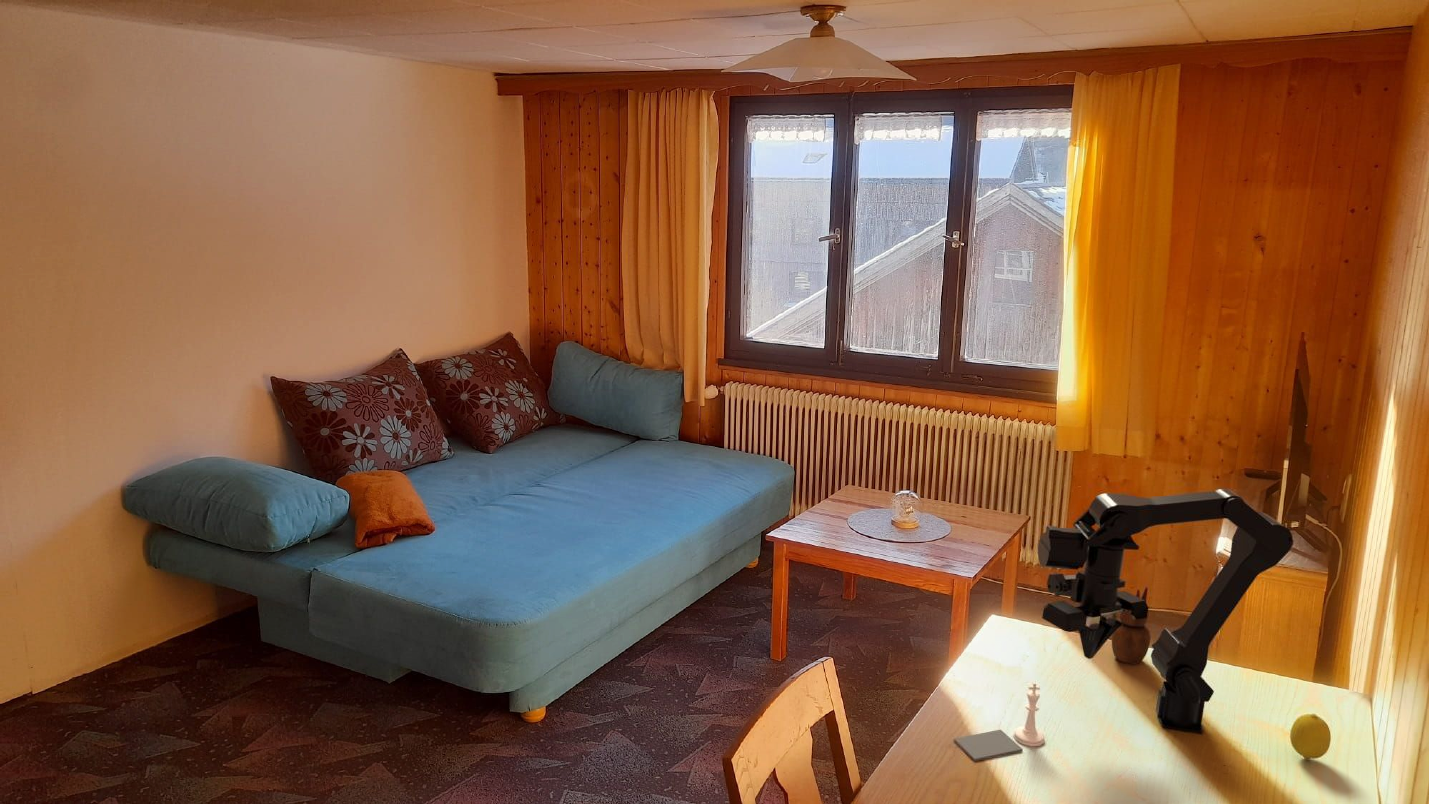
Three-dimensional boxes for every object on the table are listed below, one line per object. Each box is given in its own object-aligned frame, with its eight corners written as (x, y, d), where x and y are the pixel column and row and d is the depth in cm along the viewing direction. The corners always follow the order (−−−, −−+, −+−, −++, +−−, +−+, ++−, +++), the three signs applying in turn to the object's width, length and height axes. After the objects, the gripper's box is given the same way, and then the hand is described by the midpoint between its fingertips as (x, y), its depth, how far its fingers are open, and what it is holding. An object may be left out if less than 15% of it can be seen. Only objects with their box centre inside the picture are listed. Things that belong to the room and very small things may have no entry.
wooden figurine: (1145, 656, 195) (1155, 584, 192) (1147, 669, 190) (1157, 596, 186) (1108, 650, 197) (1117, 578, 194) (1109, 663, 192) (1118, 590, 189)
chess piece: (1048, 746, 164) (1054, 691, 162) (1018, 745, 164) (1023, 690, 162) (1039, 730, 169) (1045, 676, 167) (1010, 729, 169) (1015, 675, 167)
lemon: (1325, 773, 158) (1334, 727, 157) (1285, 761, 161) (1293, 717, 159) (1326, 756, 163) (1334, 712, 161) (1287, 745, 166) (1295, 701, 164)
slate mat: (1000, 731, 168) (1000, 729, 168) (1022, 751, 163) (1022, 749, 163) (953, 740, 165) (953, 738, 165) (974, 761, 160) (974, 758, 160)
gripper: (1105, 548, 178) (1091, 629, 181) (1025, 559, 169) (1012, 644, 173) (1157, 571, 168) (1142, 657, 171) (1075, 584, 160) (1060, 674, 163)
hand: (1088, 657), depth 170 cm, fingers closed
